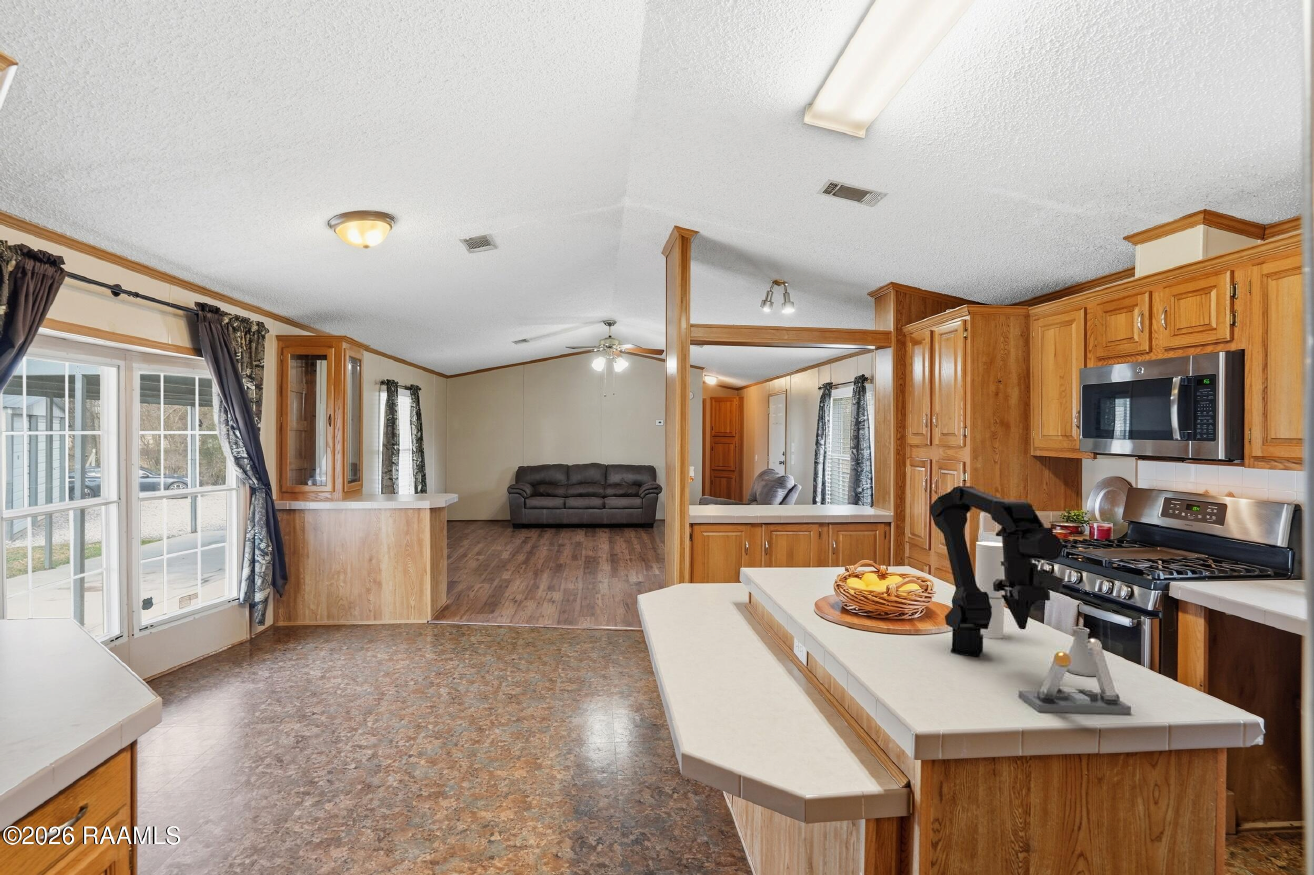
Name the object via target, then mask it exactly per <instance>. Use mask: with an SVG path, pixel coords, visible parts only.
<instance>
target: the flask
mask: <svg viewBox="0 0 1314 875" xmlns="http://www.w3.org/2000/svg"><path fill="white" fill-rule="evenodd" d="M1072 629H1073V632H1074V637H1073V641H1072V644H1071V646H1070V648H1069V650H1068V653H1067V654H1068V655H1069V656H1070V658H1071V664H1070V665H1069V666H1068V668H1067V670H1066V672H1068V673H1071V674H1075V675H1079V676H1080V675H1081V676H1085V677H1096V675H1095V672H1094V668H1093V665H1092V662H1091V658H1090V655H1089V652H1088V649H1087V648H1086V641H1087V640H1088V639H1089V634H1090V629H1088V628H1086V627H1082V626H1073V627H1072Z"/></svg>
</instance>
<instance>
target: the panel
mask: <svg viewBox="0 0 1314 875" xmlns="http://www.w3.org/2000/svg"><path fill="white" fill-rule="evenodd" d="M1038 691H1039V690H1023V689H1022V690H1021V689H1019V690H1018V698H1019V699H1021V701H1023V702H1024V703H1025V704H1027V705H1028V706H1029V707H1031V708H1032V709H1034V710H1035V711H1036V712H1038V713H1059V712H1068V713H1069V714H1097V713H1106V714H1105V715H1132V706H1131V705H1129V704H1127V703H1126V702H1123V701H1121V700H1119V702H1111V701H1102V700H1101V698H1100V693H1101V691H1099V692H1098V691H1096V692H1095V691H1093V690H1091V689H1090V690H1089V689H1087V690H1086V689H1083V688H1082V689H1081V688H1073V687H1072V686H1059V688H1058V690H1057V692H1056V699H1055V700H1040V699H1039V698H1038V696H1037V692H1038ZM1068 713H1067V714H1068Z"/></svg>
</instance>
